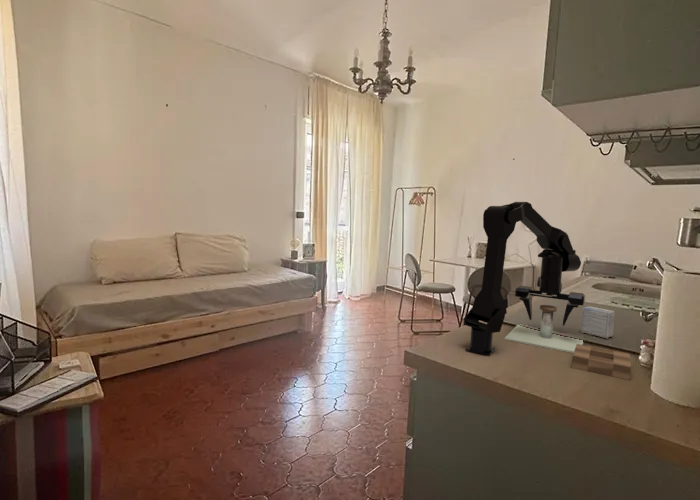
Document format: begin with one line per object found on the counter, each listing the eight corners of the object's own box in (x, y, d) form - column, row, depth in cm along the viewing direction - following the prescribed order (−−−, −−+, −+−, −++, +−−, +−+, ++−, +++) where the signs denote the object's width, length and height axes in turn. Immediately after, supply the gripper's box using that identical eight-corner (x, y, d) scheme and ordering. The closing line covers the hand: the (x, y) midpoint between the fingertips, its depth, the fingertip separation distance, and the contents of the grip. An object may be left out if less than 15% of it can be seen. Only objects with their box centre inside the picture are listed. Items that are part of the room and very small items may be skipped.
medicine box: (612, 337, 129) (615, 311, 129) (606, 340, 127) (609, 312, 126) (586, 331, 136) (589, 305, 135) (580, 333, 133) (582, 307, 132)
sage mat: (580, 354, 112) (580, 352, 112) (504, 339, 123) (504, 338, 123) (584, 337, 129) (584, 335, 129) (517, 325, 140) (517, 324, 140)
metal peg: (554, 336, 126) (557, 306, 126) (553, 340, 123) (555, 309, 122) (538, 333, 129) (541, 304, 128) (536, 337, 125) (539, 306, 124)
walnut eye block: (629, 379, 95) (631, 367, 95) (571, 367, 102) (572, 356, 101) (628, 364, 105) (629, 353, 105) (575, 354, 112) (576, 343, 112)
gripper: (588, 273, 126) (583, 322, 127) (523, 266, 136) (519, 312, 137) (585, 277, 116) (580, 330, 118) (516, 270, 126) (512, 319, 128)
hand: (546, 322), depth 125 cm, fingers open, 9 cm apart
